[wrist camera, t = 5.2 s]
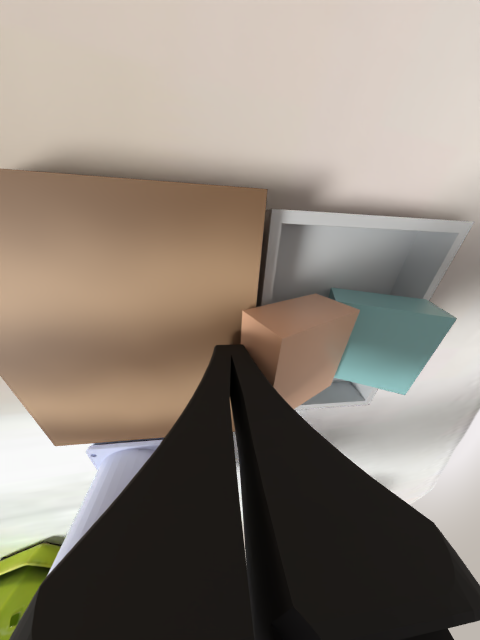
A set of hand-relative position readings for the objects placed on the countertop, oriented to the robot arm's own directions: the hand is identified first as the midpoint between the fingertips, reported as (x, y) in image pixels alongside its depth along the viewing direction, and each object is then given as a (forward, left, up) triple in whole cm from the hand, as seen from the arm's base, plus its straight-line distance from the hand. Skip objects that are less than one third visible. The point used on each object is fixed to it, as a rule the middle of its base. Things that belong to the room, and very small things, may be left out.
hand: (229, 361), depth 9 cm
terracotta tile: (0, -3, -2) cm, 3 cm away
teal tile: (0, -8, 0) cm, 8 cm away
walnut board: (0, +5, -4) cm, 6 cm away
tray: (0, -7, -4) cm, 8 cm away
